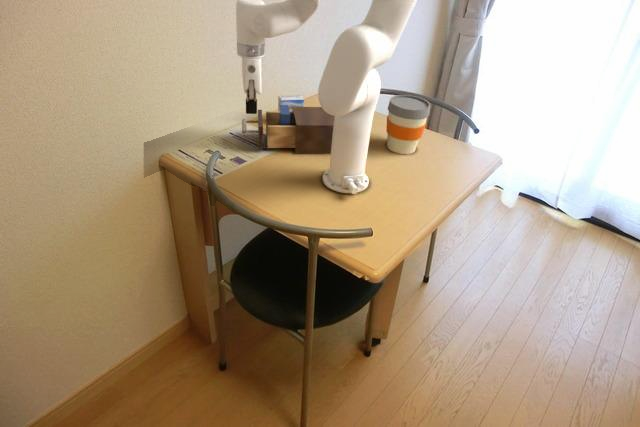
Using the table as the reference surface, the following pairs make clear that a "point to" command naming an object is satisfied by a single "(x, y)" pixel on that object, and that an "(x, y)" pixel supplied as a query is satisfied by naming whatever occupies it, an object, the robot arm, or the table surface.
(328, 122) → the cabinet
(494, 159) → the table surface
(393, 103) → the reusable coffee cup
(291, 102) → the medicine box
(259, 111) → the drawer
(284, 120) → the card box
